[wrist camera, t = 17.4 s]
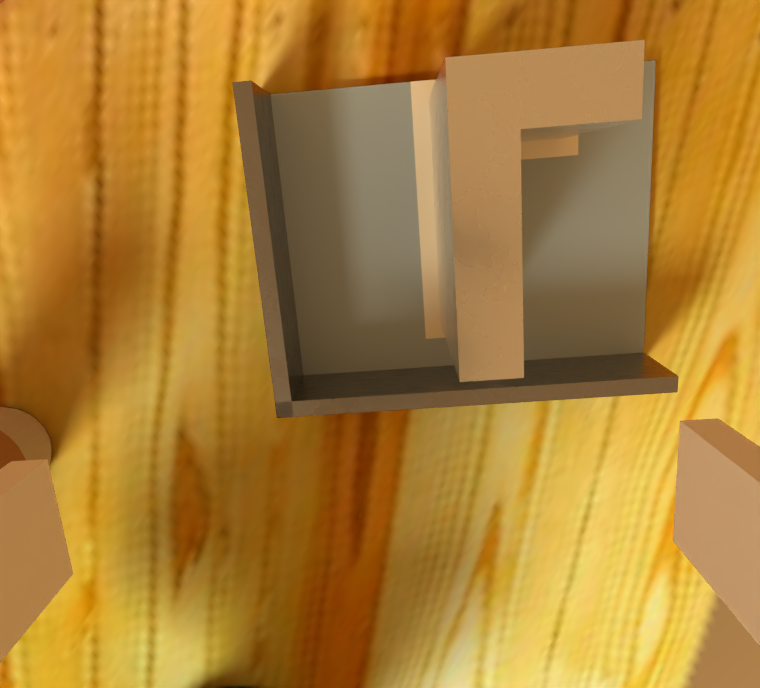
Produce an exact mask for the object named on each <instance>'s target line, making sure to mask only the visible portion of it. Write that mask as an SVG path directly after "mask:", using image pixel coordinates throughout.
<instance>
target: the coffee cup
mask: <svg viewBox="0 0 760 688" xmlns="http://www.w3.org/2000/svg"><path fill="white" fill-rule="evenodd" d="M51 456H52V445H51V441H50V437H49V435H48V433H47V432H46V430H45V428H44V427H43V426H42V425H41V423H40V422H39V421H38V420H37V419H35V418H34V417H33V416H31V415H30V414H28V413H26V412H23V411H21V410H19V409H14V408H5V407H0V469H1V468H3V467H4V466H6V465H7V464H8V463H10V462H11V461H25V460H42V459H47V460H48V465H50V462H51Z"/></svg>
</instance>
